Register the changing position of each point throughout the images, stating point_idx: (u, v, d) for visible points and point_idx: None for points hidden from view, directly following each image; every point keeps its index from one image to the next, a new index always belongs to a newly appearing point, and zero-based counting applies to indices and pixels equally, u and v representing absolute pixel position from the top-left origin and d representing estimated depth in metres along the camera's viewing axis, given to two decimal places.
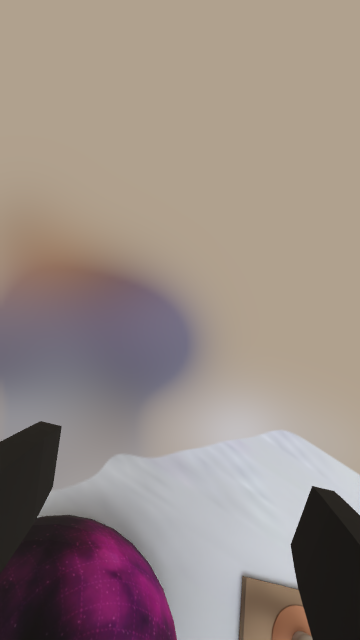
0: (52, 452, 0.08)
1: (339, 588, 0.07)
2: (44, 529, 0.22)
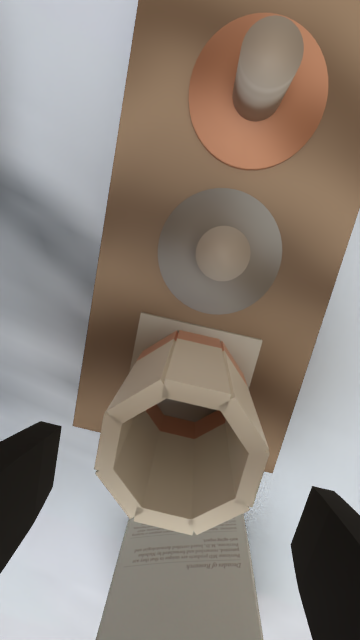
0: (51, 452, 0.08)
1: (339, 588, 0.07)
2: None
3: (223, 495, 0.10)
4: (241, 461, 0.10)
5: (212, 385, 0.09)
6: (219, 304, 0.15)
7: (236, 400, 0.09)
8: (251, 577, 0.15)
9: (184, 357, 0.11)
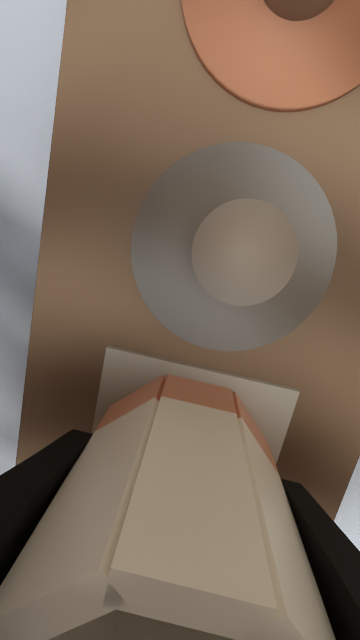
0: None
1: None
2: None
3: None
4: None
5: (228, 570, 0.04)
6: (231, 335, 0.09)
7: (290, 624, 0.04)
8: None
9: (169, 455, 0.06)
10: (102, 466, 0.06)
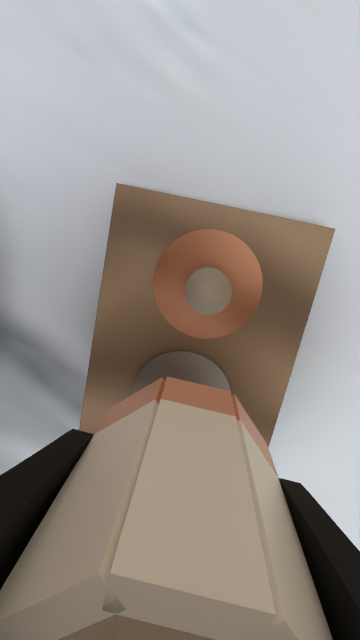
0: None
1: None
2: None
3: None
4: None
5: (227, 575, 0.04)
6: None
7: (288, 629, 0.04)
8: None
9: (168, 459, 0.06)
10: (102, 470, 0.06)
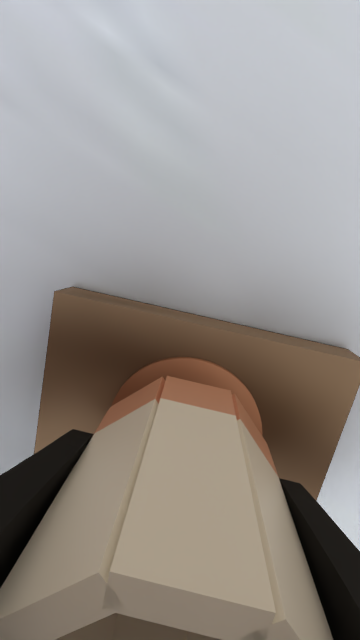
0: None
1: None
2: None
3: None
4: None
5: (227, 573, 0.04)
6: None
7: (288, 627, 0.04)
8: None
9: (168, 458, 0.06)
10: (101, 468, 0.06)
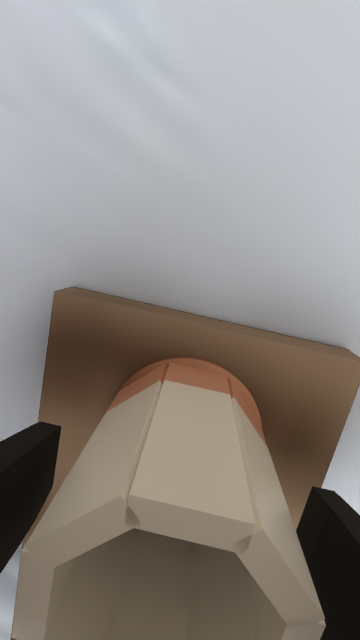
0: (51, 452, 0.08)
1: (339, 588, 0.07)
2: None
3: None
4: (270, 619, 0.06)
5: (219, 499, 0.05)
6: None
7: (265, 535, 0.05)
8: None
9: (172, 424, 0.07)
10: (116, 434, 0.07)
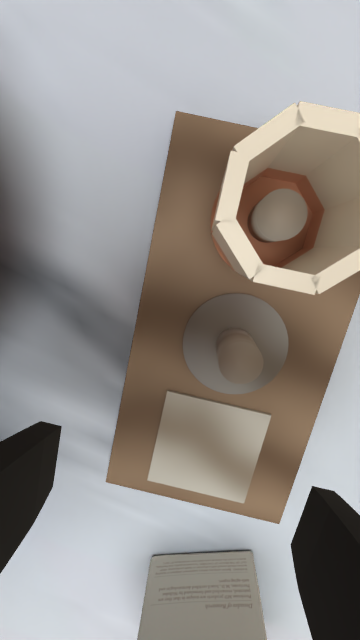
0: (52, 453, 0.08)
1: (339, 588, 0.07)
2: None
3: (346, 253, 0.10)
4: None
5: None
6: (234, 386, 0.17)
7: None
8: (261, 617, 0.17)
9: None
10: None
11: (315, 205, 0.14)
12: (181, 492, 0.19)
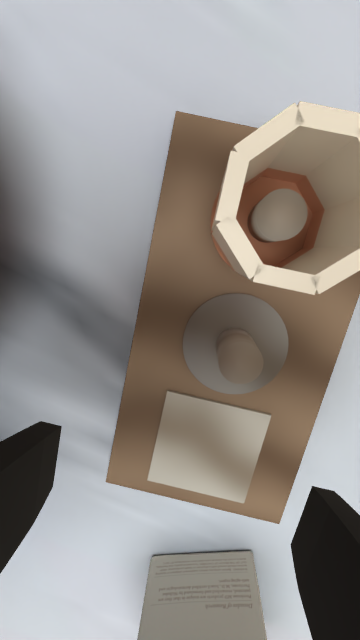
0: (52, 453, 0.08)
1: (339, 588, 0.07)
2: None
3: (346, 253, 0.10)
4: None
5: None
6: (234, 386, 0.17)
7: None
8: (261, 617, 0.17)
9: None
10: None
11: (315, 205, 0.14)
12: (181, 492, 0.19)
